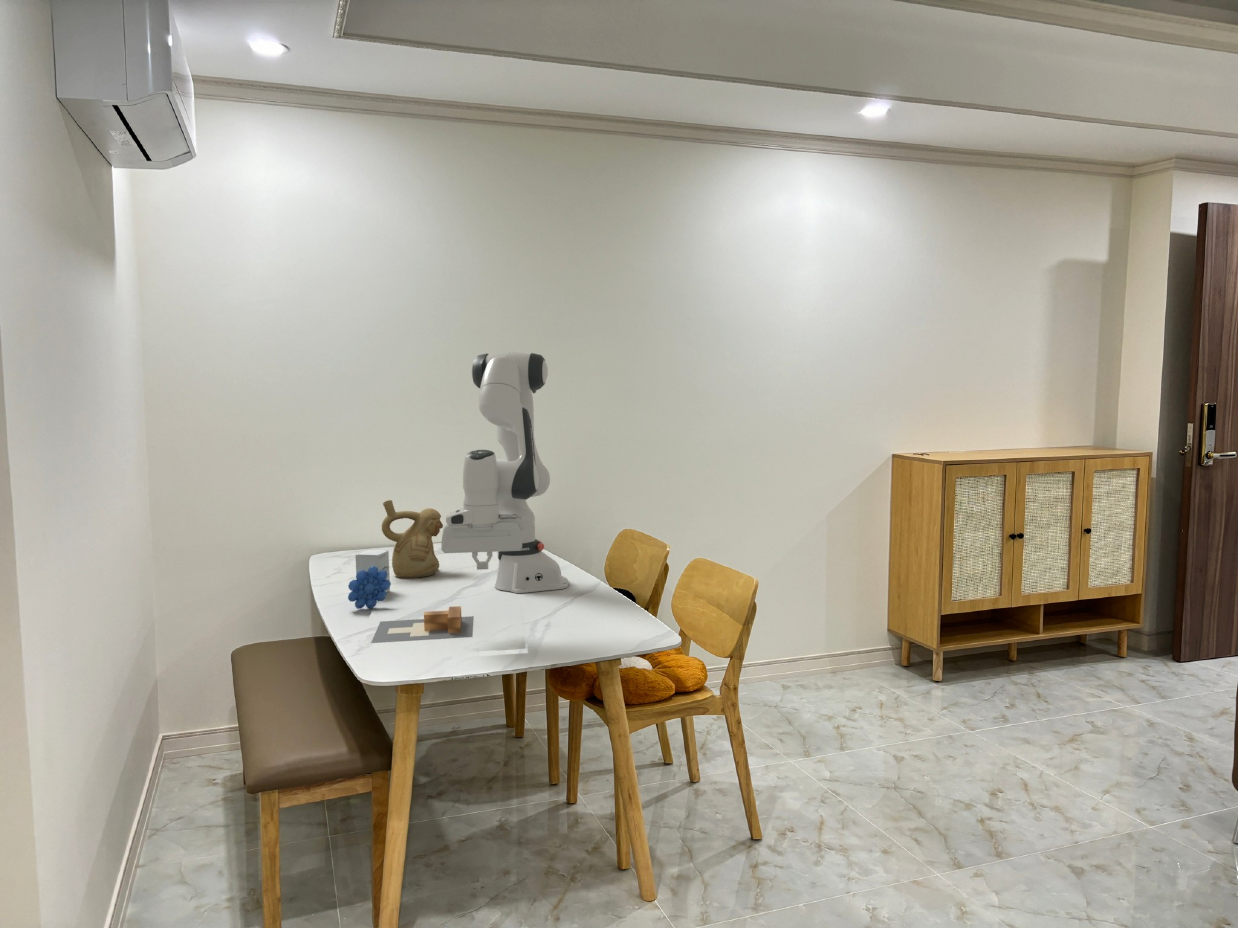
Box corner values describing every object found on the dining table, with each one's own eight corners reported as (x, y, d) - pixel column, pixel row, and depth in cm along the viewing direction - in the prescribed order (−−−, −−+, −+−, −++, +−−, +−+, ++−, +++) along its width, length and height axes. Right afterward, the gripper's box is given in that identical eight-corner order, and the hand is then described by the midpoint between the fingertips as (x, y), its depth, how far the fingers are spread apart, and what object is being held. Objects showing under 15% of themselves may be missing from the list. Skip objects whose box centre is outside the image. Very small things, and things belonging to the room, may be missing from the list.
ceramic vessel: (449, 576, 276) (446, 500, 273) (386, 583, 268) (383, 504, 266) (440, 565, 291) (437, 493, 289) (380, 571, 284) (377, 497, 281)
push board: (473, 619, 227) (473, 616, 227) (472, 640, 209) (472, 636, 209) (380, 625, 223) (380, 621, 223) (371, 646, 205) (371, 642, 205)
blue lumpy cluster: (390, 602, 245) (388, 561, 244) (392, 608, 239) (390, 566, 238) (347, 606, 241) (345, 565, 240) (348, 613, 235) (346, 570, 234)
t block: (461, 621, 222) (461, 606, 222) (460, 632, 212) (459, 616, 212) (426, 623, 221) (425, 608, 220) (423, 634, 211) (422, 618, 211)
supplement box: (379, 597, 251) (377, 555, 250) (356, 596, 253) (354, 554, 251) (391, 590, 259) (389, 549, 257) (368, 589, 260) (366, 549, 259)
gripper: (522, 511, 220) (523, 564, 221) (441, 514, 217) (442, 567, 218) (523, 515, 213) (524, 570, 215) (440, 518, 210) (441, 573, 212)
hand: (482, 569), depth 216 cm, fingers closed
